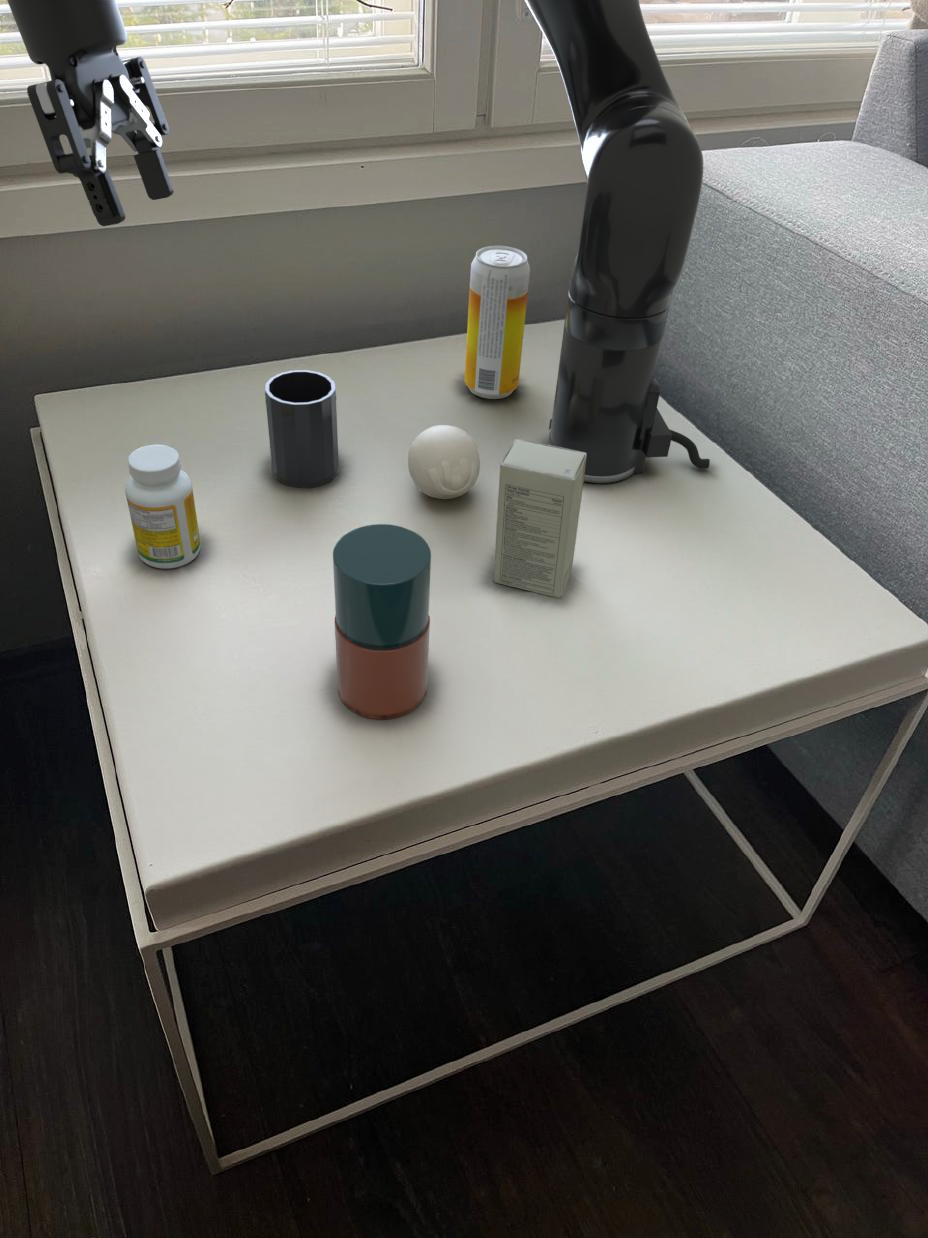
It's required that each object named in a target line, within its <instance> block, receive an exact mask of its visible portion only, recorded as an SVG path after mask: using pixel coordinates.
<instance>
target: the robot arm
mask: <svg viewBox="0 0 928 1238" xmlns="http://www.w3.org/2000/svg"><path fill="white" fill-rule="evenodd" d="M6 1H7V3H8V7H9V9H10V11H11V14H12V16H13V19H14V21H15V25H16V26H17V29H18V32H19V34H20V37H21V40H22V42H23V44H24V47H25V49H26V52H27V55H28V57H29V59H30V61H31V62H32V63H34V64H35V65H44V64H45V66H46V67H47V68H48V71H49V75H50V80H47V81H42V82H39V83H34V84H30V85H28V86H27V88H26V89H27V90H26V92H27V96H28V99H29V101H30V104H31V107H32V110H33V112H34V116H35V118H36V121H37V124H38V126H39V129H40V132H41V135H42V137H43V140H44V142H45V145H46V147H47V150H48V153H49V156H50V159H51V162H52V164H53V167H54V169H55V171H56V172H57V173H59V174H66V173H67V174H70V175H73V176H74V177H75V178H78V179H79V181H80V183H81V186H82V188H83V191H84V193H85V196H86V199H87V201H88V203H89V206H90V208H91V211H92V213H93V216H94V217H95V219H96V222H97V223H98V224H99V225H100V226H102V227H107V226H108V227H109V226H113V225H118V224H120V223H122V222H124V221H125V220H126V213H125V211H124V207H123V205H122V203H121V200H120V197H119V195H118V192H117V189H116V186H115V184H114V182H113V179H112V176H111V174H110V171H109V170H108V171H107V146H108V145H109V144H110V143H111V142H112V133H113V134H114V135H117V136H121V137H122V139H123V140H124V141H125V142H126V144H127V145H128V146H129V147H130V149H131V150H132V151H134V152H137V153H135V154H133V155H132V156H133V158H134V161H135V163H136V166H137V169H138V173H139V175H140V178H141V180H142V184H143V187H144V189H145V192H146V195H147V197H148V198H149V199H150V200H151V201H156V200H161V199H167V198H170V197H171V196H173V194H174V192H175V191H174V187H173V185H172V181H171V178H170V175H169V173H168V170H167V166H166V163H165V161H164V157H163V155H162V153H161V149H160V148H161V147H162V146H163V137H164V136H167V135H169V133H170V127H169V124H168V121H167V118H166V115H165V113H164V110H163V107H162V104H161V102H160V99H159V96H158V94H157V91H156V88H155V85H154V83H153V80H152V76H151V74H150V72H149V68H148V65H147V64H146V60H144V58H143V56H135V57H130V58H125V59H121V57H120V55H119V53H118V51H117V47H118V46H122V45H124V44H126V43H127V41H128V33H127V30H126V27H125V23H124V20H123V18H122V15H121V12H120V9H119V6H118V3H117V0H6ZM524 2H525V3H526V5H527V7H528V9H529V10H530V12H531V14H532V16H533V17H534V19H535V21H536V23H537V25H538V26H539V28H540V30H541V32H542V34H543V35H544V38H545V39H546V41H547V43H548V45H549V47H550V49H551V51H552V53H553V55H554V58H555V61H556V63H557V66H558V69H559V71H560V74H561V77H562V81H563V85H564V87H565V88H564V89H565V91H566V95H567V98H568V102H569V105H570V108H571V112H572V116H573V121H574V124H575V128H576V133H577V137H578V141H579V146H580V152H581V158H582V164H583V170H584V175H585V179H586V188H585V189H586V190H585V198H584V204H583V211H582V218H581V226H580V234H579V240H578V249H577V252H576V257H575V259H574V260H573V263H572V265H571V269H570V276H569V285H568V291H567V301H566V308H565V313H564V314H565V316H564V322H563V323H564V324H563V331H562V337H561V346H560V354H559V362H558V368H557V369H558V370H557V377H556V385H555V393H554V400H553V408H552V415H551V419H549V424H548V425H549V426H548V430H550V431H549V435H548V442H547V445H552V446H556V447H562V448H566V449H571V450H576V451H580V452H585V453H586V454H587V456H586V465H585V473H584V481H583V482H587V483H594V484H608V483H609V484H610V483H614V482H619V481H622V480H625V479H627V478H629V477H630V476H633V474H640V473H641V474H642V473H644V470H645V466H646V462H647V461H646V460H647V458H667V457H668V456H669V451H670V448H671V443H672V442H674V443H677V444H679V445H680V446H682V447H683V448H684V449H685V450H686V451H687V454H688V458H689V460H690V463H691V464H692V465H693V466H694V467H696V468H698V469H701V470H702V469H703V470H705V469H709V468H710V462H711V461H710V458H701V457H700V454H699V450H698V446H697V445H696V443H695V442H693V441H692V439H690V438H689V437H687V436H686V435H684V434H682V433H680V432H677V431H676V430H672V429H670V427H668V424H667V423H666V421H665V420H664V417H663V416H662V414H661V412H660V410H659V409H658V404H659V400H660V395H661V394H660V393H661V386H660V384H659V382H658V380H657V379H656V375H657V370H658V366H659V365H658V364H659V361H660V356H661V349H662V345H663V341H664V336H665V330H666V325H667V320H668V316H669V311H670V305H671V302H672V296H673V293H674V289H675V287H676V285H677V283H678V282H679V281H680V278H681V276H682V273H683V269H684V267H685V263H686V259H687V254H688V250H689V246H690V242H691V238H692V234H693V229H694V224H695V222H696V216H697V212H698V208H699V203H700V199H701V193H702V186H703V181H704V180H703V179H704V155H703V151H702V147H701V145H700V142H699V140H698V138H697V136H696V134H695V132H694V129H693V128H692V126H691V125H690V122H689V121H688V119H687V117H686V115H685V113H684V111H683V110H682V108H681V107H680V105H679V103H678V101H677V99H676V97H675V95H674V93H673V91H672V89H671V86H670V84H669V82H668V80H667V77H666V74H665V73H664V70H663V68H662V65H661V63H660V61H659V57H658V55H657V53H656V50H655V48H654V45H653V42H652V40H651V37H650V35H649V31H648V29H647V26H646V23H645V20H644V17H643V12H642V9H641V4H640V0H524ZM147 107H148V109H149V110H148V109H147ZM149 111H150V112H149ZM150 115H151V117H152V119H153V120H152V121H150ZM62 135H63V141H64V142H65V143H66V144H67V145H68V146H69V147H68V152H69V153H67V154H66V153H65V149H64V148H63V144H62V142H61V139H60V138H61V136H62ZM88 149H90V154H89V152H88Z"/></svg>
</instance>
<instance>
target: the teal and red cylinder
mask: <svg viewBox="0 0 928 1238" xmlns="http://www.w3.org/2000/svg"><path fill="white" fill-rule="evenodd" d="M431 551H432V550H431V548H430V546H429V544H428V542H427V541H426V539H425V538H423V537H422V535H420V534H418V533H417V532H416V531H414V530H412V529H409V528H407V527H404V526H401V525H398V524H397V525H396V524H391V523H390V524H389V523H375V524H368V525H363V526H359V527H356V528H354V529H352V530H350V531H348V532H346V533H345V534H343V535H342V536H341V537H340V538H339V539H338V540H337V542H336V543H335V545H334V547H333V550H332V566H333V567H332V568H333V588H334V589H333V590H334V606H335V607H334V608H335V609H334V610H335V615H334V638H335V657H336V658H335V659H336V661H335V662H336V679H337V680H336V681H337V692H338V695H339V698H340V700H341V702H342V703H343V704H344V705H345V706H346V707H347V709H349V710H350V711H352V712H353V713H355V714H357V715H359V716H361V717H364V718H368V719H371V720H372V719H373V720H391V719H396V718H397V719H398V718H400V717H403V716H405V715H407V714H410V713H411V712H413V711H414V710H416V709H417V708H418V707H419V706H420V704H422V703H423V702H424V699H425V698H426V695H427V693H428V681H429V680H428V679H429V655H430V654H429V652H430V632H431V631H430V628H431V619H430V593H431V591H430V590H431V571H432V570H431V568H432V567H431V566H432V565H431V564H432V552H431Z"/></svg>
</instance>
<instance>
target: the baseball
mask: <svg viewBox="0 0 928 1238" xmlns="http://www.w3.org/2000/svg"><path fill="white" fill-rule="evenodd" d="M407 465H408V472H409V475H410V478H411V480H412V482H413V484H414V485H415V487H416V488H417V489H418V490H419V491H420V492H422V493H423V494H425V495H426V496H428V497H431V498H434V499H438V500H451V499H455V498H458V497H460V496H462V495H464V494H466V493H467V492H468V491H469V490H471V489H472V488H473V486H475V484H476V482H477V480H478V477H479V475H480V471H481V455H480V451H479V447H478V445H477V443H476V441H475V440H474V439H473V437H471V435H470V434H468V432H466V431H465V430H464V429H461V428H460V427H457V426H454V425H448V424H438V425H433V426H430V427H428V428H426V429H424V430H423V431H422V432H420V433H419V434H418V435H417V436H416V437H415V439H414V440H413V441H412V442H411V445H410V447H409V449H408V453H407Z"/></svg>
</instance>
